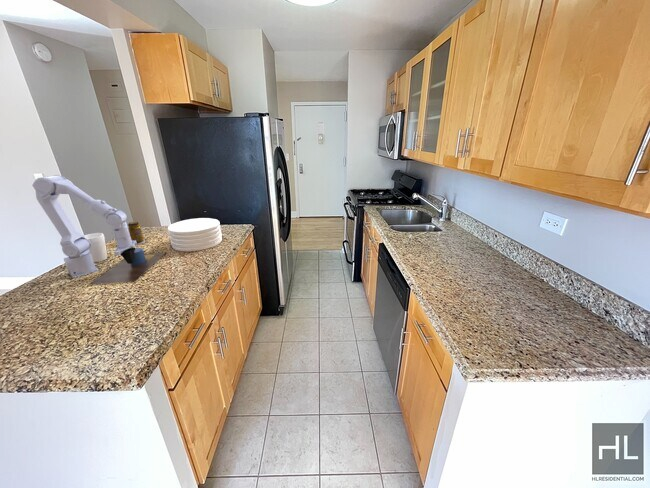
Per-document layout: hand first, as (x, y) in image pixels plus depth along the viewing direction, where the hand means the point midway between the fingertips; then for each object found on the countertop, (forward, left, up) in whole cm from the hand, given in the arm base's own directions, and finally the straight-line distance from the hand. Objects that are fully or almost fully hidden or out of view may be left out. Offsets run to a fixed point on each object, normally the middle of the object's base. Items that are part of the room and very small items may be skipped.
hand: (130, 263), depth 126 cm
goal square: (+7, +7, -2) cm, 11 cm away
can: (+4, +3, -2) cm, 6 cm away
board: (0, 0, -2) cm, 2 cm away
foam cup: (-7, +24, -3) cm, 25 cm away
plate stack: (+37, +7, -3) cm, 38 cm away
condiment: (+15, +37, -3) cm, 40 cm away
